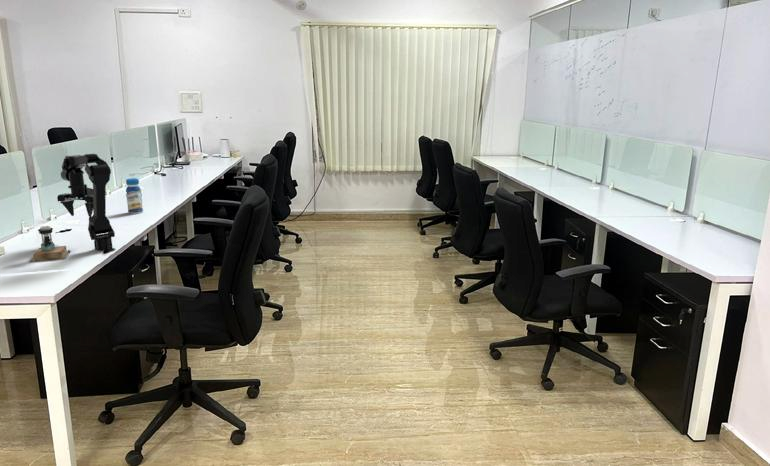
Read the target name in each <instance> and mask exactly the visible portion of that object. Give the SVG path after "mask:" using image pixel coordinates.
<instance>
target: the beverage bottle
mask: <svg viewBox="0 0 770 466" xmlns="http://www.w3.org/2000/svg"><path fill="white" fill-rule="evenodd" d="M125 181H126V182H125V184H126V189H125V192H126V194H125V197H126V204H127V212H128V213H129V214H133V215H134V214H135V215H136V214H141V213H143V212H144V207H143V199H142V196H143V194H142V189H141V187H140V186H139V185H140V180H139V178H134V177H133V178H127V179H125Z"/></svg>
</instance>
